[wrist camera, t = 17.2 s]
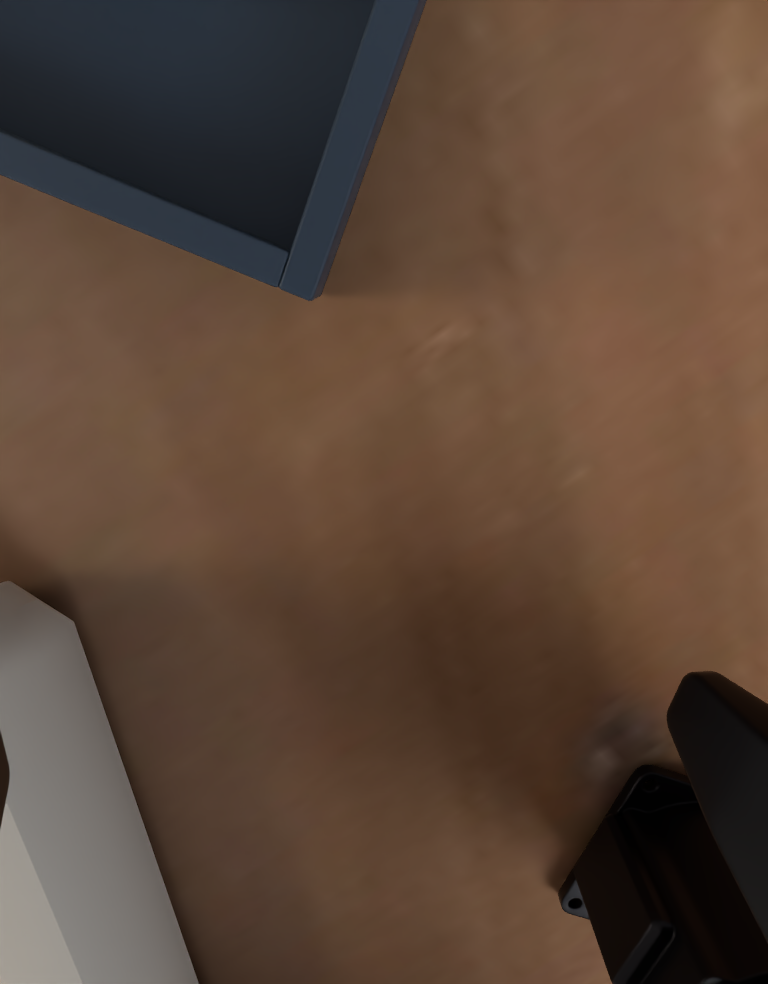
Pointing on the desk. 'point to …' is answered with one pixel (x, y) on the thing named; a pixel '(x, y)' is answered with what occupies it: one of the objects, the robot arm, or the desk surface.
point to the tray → (205, 118)
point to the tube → (72, 823)
